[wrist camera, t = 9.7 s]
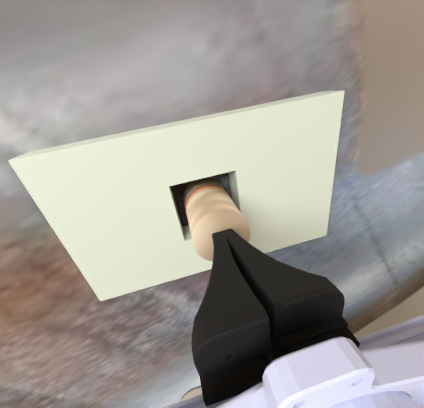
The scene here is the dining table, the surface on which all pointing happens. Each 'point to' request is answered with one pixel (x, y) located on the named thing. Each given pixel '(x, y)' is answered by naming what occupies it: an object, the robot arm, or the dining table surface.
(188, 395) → the coffee cup
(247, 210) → the board
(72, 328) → the dining table surface
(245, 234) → the peg
